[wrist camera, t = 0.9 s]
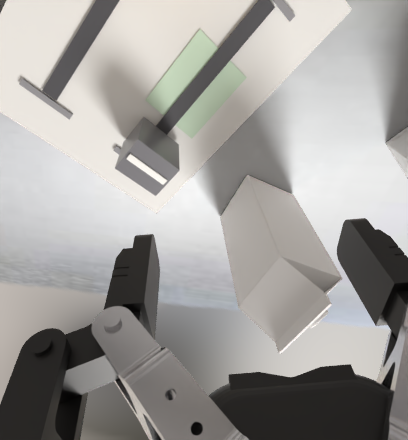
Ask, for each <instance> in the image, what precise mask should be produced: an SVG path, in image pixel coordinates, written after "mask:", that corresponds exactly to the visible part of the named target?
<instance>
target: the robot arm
mask: <svg viewBox="0 0 408 440" xmlns="http://www.w3.org/2000/svg"><path fill="white" fill-rule="evenodd" d="M337 256H338V260H339V262H340V264H341V266H342V267H343V269H344V271H345V273H346V274H347V276H348V278H349V280H350V281H351V283H352V285H353V287H354V288H355V290H356V292H357V294H358V295H359V297H360V299H361V301H362V302H363V304H364V306H365V308H366V309H367V311H368V313H369V315H370V316H371V318H372V320H373V322H374V323H375V325H376V326H379V325H388V326H389V327H390V329H391V331H390V333H389V335H388V339H387V343H386V347H385V351H384V355H383V360H382V364H381V368H380V372H379V375H378V378H377V381H374V380H372V379H369V378H366V377H363V376H360V375H356V374H355V373H354V371H353V369H352V367H351V365H338V366H326V367H320V368H317V369H314V370H311V371H309V372H306V373H303V374H301V375H298V376H296V377H284V376H278V375H272V374H266V373H261V372H255V373H243V374H231V375H229V384H227V385H225V386H222V387H220V388H219V389H217V390H215V391H214V392H213V393H211V394H210V395H209V396H208V395H207V394H206V392H205V391H204V390H203V389H202V388H201V386H200V385H199V384H198V383H197V382H196V381H195V379H194V378H193V377H192V376H191V375H190V374H189V372H188V371H187V370H186V369H185V368H184V366H183V365H182V364H181V363H180V362H179V361H178V359H177V358H176V357H175V356H174V355H173V353H172V352H171V351H170V350H169V349H167V348H166V347H164V348H161V347H160V346H159V345H158V344H157V342H156V341H155V329H156V316H157V303H158V290H159V277H160V267H159V259H158V254H157V249H156V244H155V238H154V235H153V234H150V235H137V236H135V238H134V244H133V248H127V249H123V250H122V251H121V253H120V254H119V255H118V256H117V258H116V261H115V265H114V270H113V274H112V278H111V282H110V286H109V290H108V295H107V299H106V303H105V307H104V310H103V311H102V312H100V313H99V314H98V315H97V316H96V317H95V319H94V321H93V323H92V324H90V325H89V326H87V327H85V328H82V329H79V330H77V331H74V332H71V333H68V334H66V335H65V334H64V333H63V332H62V331H61V330H58V329H53V328H52V329H45V330H42V331H40V332H38V333H36V334H34V335H33V336H32V337H30V338H29V339H28V340H27V341H26V342H25V344H24V345H23V347H22V349H21V351H20V353H19V356H18V359H17V361H16V364H15V367H14V369H13V372H12V375H11V377H10V380H9V383H8V385H7V388H6V391H5V393H4V396H3V399H2V401H1V404H0V440H80V437H81V431H82V425H83V419H84V413H85V407H86V401H87V396H88V392H89V391H92V390H94V389H96V388H99V387H101V386H104V385H106V384H108V383H111V382H113V381H114V382H115V383H116V385H117V386H118V388H119V389H120V391H121V393H122V394H123V396H124V398H125V399H126V401H127V402H128V404H129V405H130V407H131V408H132V410H133V412H134V413H135V415H136V416H137V418H138V420H139V421H140V423H141V425H142V427H143V429H144V431H145V433H146V434H147V436H148V438H149V439H150V440H408V257H407V256H406V255H404V252H403V251H402V250H401V249H400V248H398V245H397V244H396V243H395V242H394V240H393V239H392V238H391V237H390V236H388V235H387V234H385V233H384V232H382V231H381V230H379V229H378V230H375V229H374V228H373V227H372V225H371V224H370V223H369V221H368V220H367V219H365V218H363V219H350V220H345V222H344V224H343V227H342V231H341V235H340V239H339V243H338V246H337Z"/></svg>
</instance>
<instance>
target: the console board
mask: <svg viewBox="0 0 408 440" xmlns="http://www.w3.org/2000/svg"><path fill="white" fill-rule="evenodd" d="M351 10H352V9H351V8H350V6H349V5H348V3H347V2H346V0H7V1H6V3H5V5H4V7H3V9H2V11H1V13H0V112H1V113H3V114H4V115H6V116H7V117H9V118H10V119H12V120H13V121H15V122H16V123H18V124H19V125H21V126H23V127H24V128H26V129H27V130H29V131H30V132H32V133H33V134H35V135H36V136H38V137H40V138H41V139H43V140H44V141H46V142H47V143H49V144H50V145H52V146H53V147H55V148H56V149H58V150H60V151H61V152H63V153H64V154H66V155H67V156H69V157H70V158H72V159H73V160H75V161H76V162H78V163H80V164H81V165H83V166H84V167H86V168H87V169H89V170H90V171H92V172H93V173H95V174H97V175H98V176H100V177H101V178H103V179H104V180H106V181H107V182H109V183H110V184H112V185H113V186H115V187H117V188H118V189H120V190H121V191H123V192H124V193H126V194H127V195H129V196H130V197H132V198H133V199H135V200H137V201H138V202H140V203H141V204H143V205H144V206H146V207H147V208H149V209H150V210H152V211H154V212H155V213H158V212H159V211H160V210H161V209H162V208H163V207H164V206H165V204H166V203H167V202H168V201H169V200H170V199H171V198H172V197H173V196H174V195H175V194H176V193H177V192H178V191H179V190H180V189H181V188H182V187H183V186H184V185H185V184H186V183H187V182H188V180H189V179H190V178H191V177H192V176H193V175H194V174H195V173H196V172H197V171H198V170H199V169H200V168H201V167H202V166H203V165H204V164H205V163H206V162H207V161H208V160H209V159H210V157H211V156H212V155H213V154H214V153H215V152H216V151H217V150H218V149H219V148H220V147H221V146H222V145H223V144H224V143H225V142H226V141H227V140H228V139H229V138H230V137H231V136H232V134H233V133H234V132H235V131H236V130H237V129H238V128H239V127H240V126H241V125H242V124H243V123H244V122H245V121H246V120H247V119H248V118H249V117H250V116H251V115H252V114H253V113H254V112H255V110H256V109H257V108H258V107H259V106H260V105H261V104H262V103H263V102H264V101H265V100H266V99H267V98H268V97H269V96H270V95H271V94H272V93H273V92H274V91H275V90H276V89H277V87H278V86H279V85H280V84H281V83H282V82H283V81H284V80H285V79H286V78H287V77H288V76H289V75H290V74H291V73H292V72H293V71H294V70H295V69H296V68H297V67H298V66H299V65H300V63H301V62H302V61H303V60H304V59H305V58H306V57H307V56H308V55H309V54H310V53H311V52H312V51H313V50H314V49H315V48H316V47H317V46H318V45H319V44H320V43H321V42H322V40H323V39H324V38H325V37H326V36H327V35H328V34H329V33H330V32H331V31H332V30H333V29H334V28H335V27H336V26H337V25H338V24H339V23H340V22H341V21H342V20H343V19H344V17H345V16H346V15H347V14H348V13H349V12H350V11H351ZM143 117H145V118H146V119H148V120H149V121H150V122H151V123H153V124H154V125H155V126H156V127H158V128H159V129H160V130H161V131H163V132H164V133H165V134H166V135H168V136H169V137H170V138H171V139H173V140H174V141H175V142H176V143H178V144H179V166H180V171H179V172H178V173H177V174H176V175H175V176H174V177H173V178H172V179H171V180H170V181H169V183H168V184H167V185H166V186H165V187H164V188H163V189H162V190H161V191H160V192H159V193H158V194H157V195H156V196H155V195H153V194H152V193H150V192H149V191H147V190H146V189H144V188H143V187H142V186H140V185H139V184H137V183H136V182H134V181H133V180H131V179H130V178H128V177H127V176H125V175H124V174H122V173H121V172H119V171H118V170H116V169H115V166H116V163H117V160H118V157H119V154H120V151H121V148H122V145H123V142H124V141H125V139H126V138H127V137H128V136H129V134H130V133H131V132H132V131H133V129H134V128H135V127H136V125H137V124H138V123H139V122H140V120H141V119H142V118H143Z"/></svg>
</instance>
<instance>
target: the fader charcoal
mask: <svg viewBox="0 0 408 440" xmlns="http://www.w3.org/2000/svg"><path fill="white" fill-rule="evenodd" d="M115 169H116V170H118V171H119V172H121V173H122V174H124V175H125V176H127V177H128V178H130V179H131V180H133V181H134V182H136V183H137V184H139V185H140V186H142V187H143V188H144V189H146V190H147V191H149V192H150V193H152V194H153V195H155V196H156V195H157V194H158V193H159V192H160V191H161V190H162V189H163V188H164V187H165V186H166V185H167V184H168V183H169V181H170V180H171V179H172V178H173V177H174V176H175V175H176V174H177V173H178V172H179V171H180V166H179V144H178V143H176V142H175V141H174V140H173V139H171V138H170V137H169V136H168V135H166V134H165V133H164V132H163V131H161V130H160V129H159V128H158V127H156V126H155V125H154V124H153V123H151V122H150V121H149V120H148V119H146V118H145V117H143V118H142V119H141V120H140V122H139V123H138V124H137V125H136V127H135V128H134V129H133V131H132V132H131V133H130V134H129V136H128V137H127V138H126V139H125V141H124V142H123V145H122V148H121V151H120V154H119V157H118V160H117V163H116V166H115Z"/></svg>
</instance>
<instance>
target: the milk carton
mask: <svg viewBox="0 0 408 440" xmlns="http://www.w3.org/2000/svg"><path fill="white" fill-rule="evenodd" d="M220 219H221V224H222V229H223V234H224V239H225V244H226V248H227V253H228V258H229V263H230V268H231V273H232V278H233V283H234V288H235V293H236V298H237V303H238V308H239V309H240V310H241V311H242V312H243V313H245V315H247V316H248V317H249V318H250V319H251V320H252V321H253V322H254V323H255V324H256V325H258V327H259V328H260V329H262V330H263V331H264V332H265V333H266V334H267V335H268V336H269V337H270V338H271V339H272V340H273V341H275V343H276V346H277V349H278V352H279V353H282V352H283V351H284V350H285V349H286V348H287V347H288V346H289V345H290V344H291V343H292V342H293V341H294V340H295V339H296V338H298V337H299V336H300V335H301V334H302V333H303V332H304V331H305V330H306V329H307V328H308V327H310V328H313V327H315V325H317V324H318V323H319V322H320V321H321V320H322V319H323V318H324V317H325V316H326V315H327V314H328V311H327V309H328V308H329V307H330V306H331V302H330V300H329V298H328V296H327V294H328V293H329V292H330V291H331V290H332V289H333V288H334V287H335V286H336V285H337V284H338V283H339V282H340V281H341V280H342V277H341V275H340V273H339V271H338V270H337V268H336V266H335V264H334V263H333V261H332V259H331V258H330V256H329V254H328V253H327V251H326V249H325V247H324V246H323V244H322V242H321V241H320V239H319V237H318V236H317V234H316V232H315V230H314V229H313V227H312V225H311V224H310V222H309V220H308V218H307V217H306V215H305V213H304V212H303V210H302V208H301V207H300V205H299V203H298V201H297V200H296V198H295V196H294V195H293V194H291V193H288V192H286V191H284V190H281V189H279V188H277V187H274V186H272V185H270V184H268V183H265V182H263V181H261V180H258V179H256V178H254V177H251V176H249V175H247V176H246V177H245V179H244V180H243V182H242V183H241V185H240V187H239V188H238V190H237V191H236V193H235V194H234V196H233V198H232V199H231V201H230V202H229V204H228V206H227V207H226V209H225V210H224V212H223V214H222V215H221V217H220Z"/></svg>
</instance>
